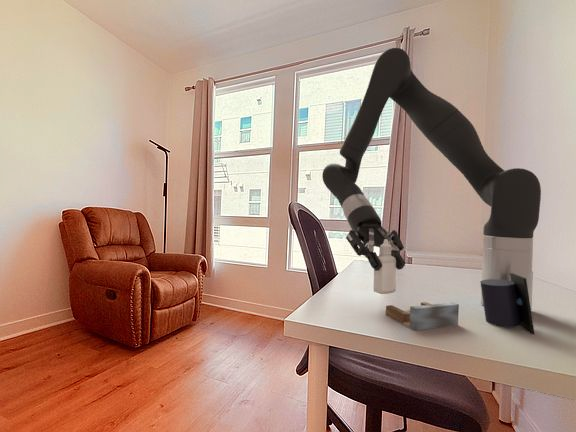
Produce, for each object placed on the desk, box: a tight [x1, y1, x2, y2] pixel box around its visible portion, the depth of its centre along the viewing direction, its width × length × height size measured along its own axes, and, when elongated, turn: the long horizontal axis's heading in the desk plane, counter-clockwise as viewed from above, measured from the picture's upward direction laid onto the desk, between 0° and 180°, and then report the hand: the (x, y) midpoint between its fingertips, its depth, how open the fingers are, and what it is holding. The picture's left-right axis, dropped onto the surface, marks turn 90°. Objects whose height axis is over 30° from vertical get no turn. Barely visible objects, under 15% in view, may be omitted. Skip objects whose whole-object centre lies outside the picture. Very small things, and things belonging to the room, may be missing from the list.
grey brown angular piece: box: [385, 301, 460, 331], centre depth 53 cm, size 11×8×4 cm
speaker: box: [479, 273, 535, 335], centre depth 53 cm, size 8×6×10 cm
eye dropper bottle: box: [373, 239, 397, 295], centre depth 60 cm, size 4×6×12 cm
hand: (390, 267), depth 58 cm, fingers closed on eye dropper bottle, 5 cm apart
